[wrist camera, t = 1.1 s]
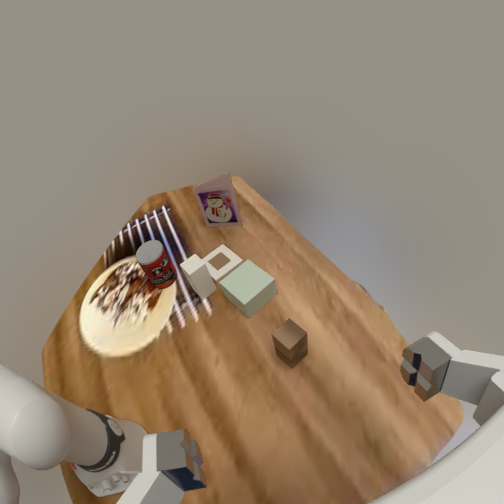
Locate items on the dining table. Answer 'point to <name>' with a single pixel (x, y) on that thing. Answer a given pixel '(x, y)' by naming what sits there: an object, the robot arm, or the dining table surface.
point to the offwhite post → (198, 276)
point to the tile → (221, 262)
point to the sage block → (249, 288)
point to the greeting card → (218, 202)
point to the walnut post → (290, 343)
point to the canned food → (156, 264)
